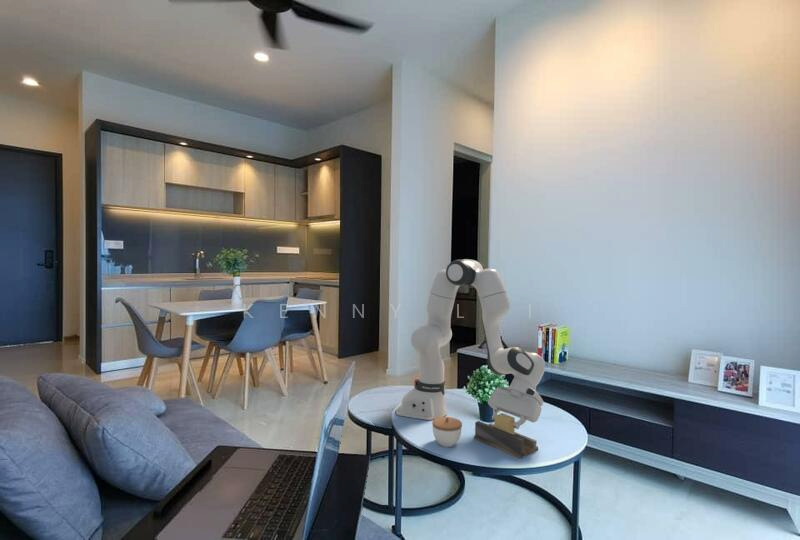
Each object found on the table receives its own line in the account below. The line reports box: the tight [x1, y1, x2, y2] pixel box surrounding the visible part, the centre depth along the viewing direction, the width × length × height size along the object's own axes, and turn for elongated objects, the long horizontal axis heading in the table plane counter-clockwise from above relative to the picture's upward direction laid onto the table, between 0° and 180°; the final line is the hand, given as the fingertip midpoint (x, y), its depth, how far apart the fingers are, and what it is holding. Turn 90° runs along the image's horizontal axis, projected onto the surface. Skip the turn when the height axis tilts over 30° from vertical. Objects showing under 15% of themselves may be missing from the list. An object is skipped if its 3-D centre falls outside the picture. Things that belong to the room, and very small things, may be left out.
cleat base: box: [473, 420, 539, 459], centre depth 148 cm, size 11×20×6 cm, turn 39°
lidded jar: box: [431, 416, 463, 448], centre depth 148 cm, size 11×11×9 cm
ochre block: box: [493, 412, 516, 435], centre depth 148 cm, size 4×6×9 cm
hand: (504, 423), depth 148 cm, fingers open, 8 cm apart
